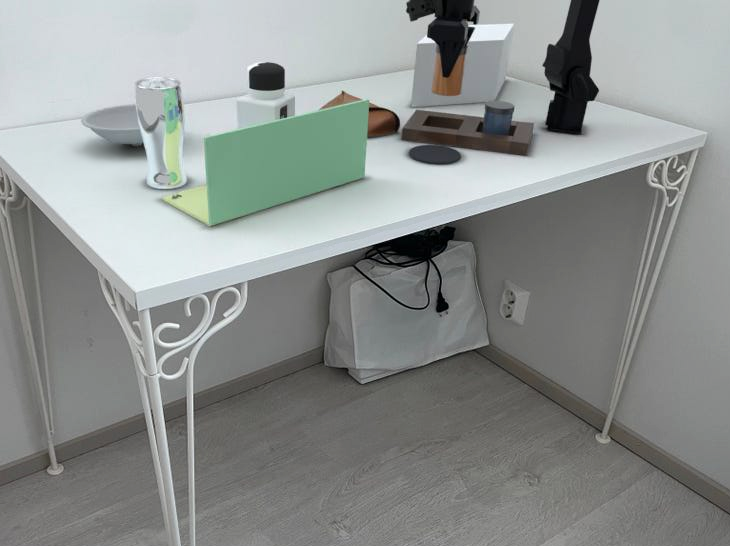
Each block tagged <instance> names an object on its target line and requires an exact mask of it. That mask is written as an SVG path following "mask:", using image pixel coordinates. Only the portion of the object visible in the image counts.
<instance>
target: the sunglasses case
mask: <svg viewBox="0 0 730 546" xmlns="http://www.w3.org/2000/svg"><path fill="white" fill-rule="evenodd" d="M361 100H363V99H362V98H359V97H357V96H355V95H352V94H350V93H347V92H346V91H345V90H341V93H340V94H338V95H336V96H335V97H334V98H332V99H331V100H330V101H328V102H327V103H325V104H323V106H321V107H320V108H319V109H317V110H316V111H318V110H322V109H326V108H331V107H335V106H339V105H344V104H348V103H352V102H356V101H361ZM400 127H401V120H400V117H399V116H398V114H397V113H396V112H394V110H391V109H388V108H385V107H381V106H378V105H377V104H374V103H372V102H370V101H369V114H368V129H367V137H370V138H371V137H384V136H391V135H395V134H396V133H397V132H398V131H400Z"/></svg>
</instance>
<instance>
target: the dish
mask: <svg viewBox="0 0 730 546" xmlns="http://www.w3.org/2000/svg"><path fill="white" fill-rule="evenodd" d="M80 122H81V125H83V126H84V127H85V128H89V129H90V130H91V131H92V132H93V133H95V134H96V135H97V136H99V137H101V138H102V139H105V140H106V141H109V142H111V143H115V144H121V145H131V146H133V147H140V146H142V145H143V140H142V137H141V133H140V130H139V125H138V120H137V113H136V103H132V104H121V105H114V106H109V107H104V108H100V109H96V110H93V111H91V112H88V113H86V114H85V115H83V116H82V117H81V120H80Z"/></svg>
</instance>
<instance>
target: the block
mask: <svg viewBox="0 0 730 546" xmlns="http://www.w3.org/2000/svg"><path fill="white" fill-rule="evenodd" d="M468 27H475V30H474V32H473V34H472V36H471V38H470V40H469V42H468V44H467V46H468V49H467V54H466V60H465V68H464V75H463V83H462V90H461V94H460V95H457V96H442V95H437V94H434V93H432V92H431V88H432V79H433V70H434V61H435V47H436V43H435V42H434V41H433V40H432V39H431V38H427V34H426V35H425V36H423V38H421V39H420V40H419V41H418V42H417V43H416V49H415V60H414V71H413V81H412V92H411V101H410V103H411V104H410V108H418V107H434V106H446V105H447V106H448V105H461V104H463V105H464V104H476V103H486V102H489V101H496V99H497V97H498V95H499V93H500V91H501V89H502V87H503V85H504V84H505V82H506V78H507V77H506V76H507V71H508V65H509V60H510V59H509V58H510V53H511V46H512V40H513V34H514V27H515V23H493V24H491V23H490V24H477V25H473V24H468Z"/></svg>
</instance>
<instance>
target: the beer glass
mask: <svg viewBox="0 0 730 546" xmlns="http://www.w3.org/2000/svg"><path fill="white" fill-rule="evenodd" d="M134 87H135V88H134V92H135V93H134V94H135V96H134V97H135V104H136V113H137V120H138V125H139V130H140V133H141V137H142V140H143V143H142V145H143V147H144V151H145V153H146V161H147V173H146V183H147V185H148V186H149V187H151V188H153V189H157V190H174V189H178V188H181V187H183V186H185V185H186V184H187V181H188V179H187V175H186V171H185V167H184V160H183V148H184V139H185V127H186V126H185V125H186V124H185V123H186V117H185V105H184V104H185V103H184V98H183V90H182V82H181V81H180V80H179V79H178V78H173V77H167V76H166V77H165V76H153V77H145V78H140V79H138V80H136V81H135V82H134Z"/></svg>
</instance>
